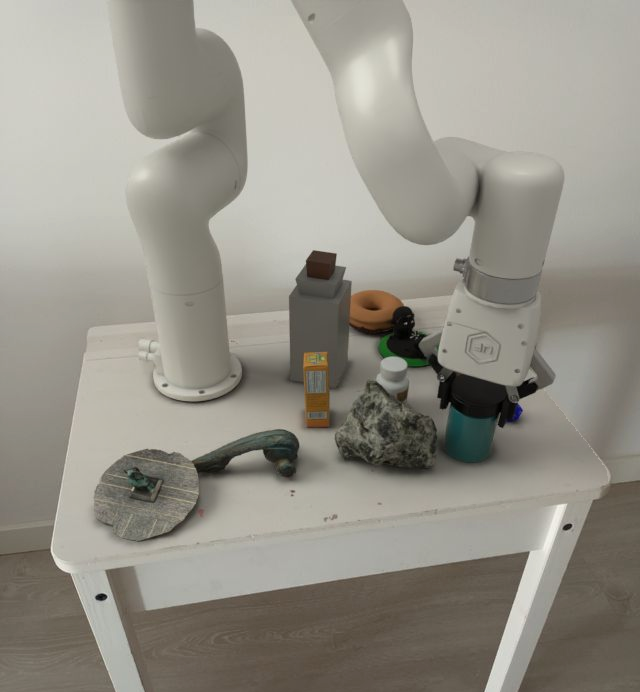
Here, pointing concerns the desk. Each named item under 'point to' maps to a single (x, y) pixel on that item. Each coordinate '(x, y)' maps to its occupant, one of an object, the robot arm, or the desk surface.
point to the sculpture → (146, 493)
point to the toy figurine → (404, 339)
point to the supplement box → (316, 389)
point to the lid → (476, 396)
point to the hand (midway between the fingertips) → (474, 411)
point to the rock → (387, 431)
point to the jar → (469, 436)
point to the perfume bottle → (320, 315)
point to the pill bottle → (394, 377)
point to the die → (517, 413)
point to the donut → (373, 310)
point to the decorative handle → (273, 443)
